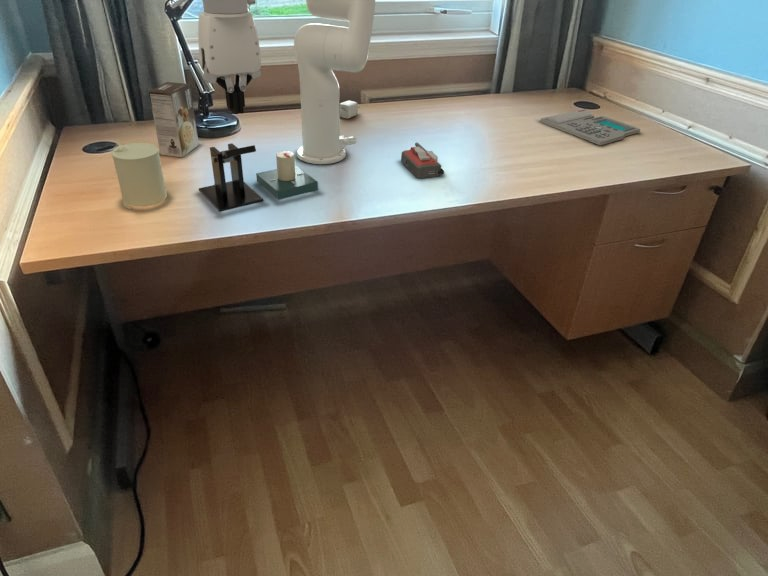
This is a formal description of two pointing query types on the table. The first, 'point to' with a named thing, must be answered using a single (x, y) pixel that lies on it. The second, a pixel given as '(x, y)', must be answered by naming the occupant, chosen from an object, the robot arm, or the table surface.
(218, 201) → the pivoting lever stand
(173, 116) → the coffee box
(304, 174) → the dial panel
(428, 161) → the walkie-talkie
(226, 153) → the lever
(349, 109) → the usb wall charger
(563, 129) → the office telephone
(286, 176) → the dial
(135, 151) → the can
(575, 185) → the table surface
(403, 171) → the table surface
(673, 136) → the table surface
